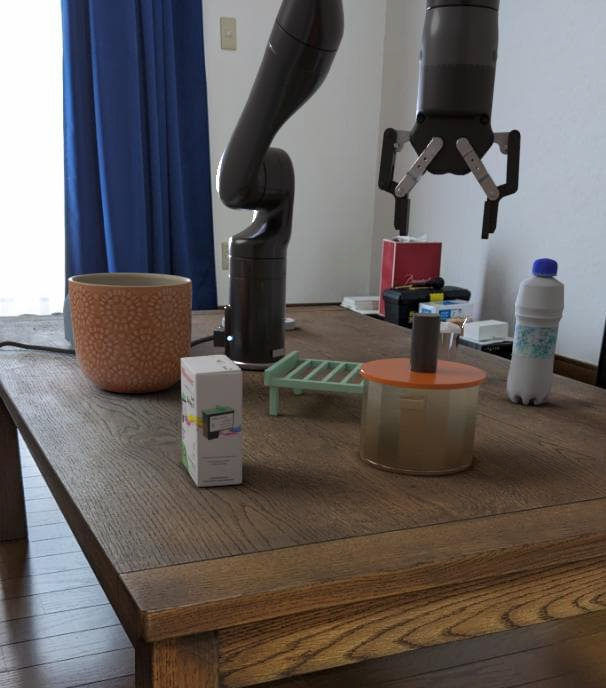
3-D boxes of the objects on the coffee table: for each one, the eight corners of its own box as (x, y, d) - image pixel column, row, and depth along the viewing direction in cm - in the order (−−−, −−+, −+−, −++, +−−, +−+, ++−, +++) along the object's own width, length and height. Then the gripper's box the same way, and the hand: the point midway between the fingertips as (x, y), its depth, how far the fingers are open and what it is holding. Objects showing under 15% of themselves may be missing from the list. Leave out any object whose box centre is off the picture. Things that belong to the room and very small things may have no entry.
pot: (345, 476, 95) (350, 387, 92) (374, 433, 112) (379, 356, 108) (465, 488, 93) (474, 398, 89) (476, 443, 109) (484, 365, 105)
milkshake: (460, 384, 140) (467, 319, 136) (426, 382, 141) (431, 317, 137) (461, 378, 144) (468, 315, 140) (428, 376, 145) (433, 313, 141)
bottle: (552, 399, 132) (572, 257, 125) (548, 409, 126) (569, 261, 119) (506, 394, 134) (523, 254, 127) (500, 404, 128) (518, 258, 121)
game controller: (294, 325, 188) (294, 316, 188) (296, 336, 177) (296, 326, 176) (223, 323, 188) (223, 314, 187) (219, 334, 176) (219, 324, 175)
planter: (158, 405, 121) (154, 289, 115) (51, 391, 126) (42, 280, 121) (212, 381, 136) (212, 277, 130) (115, 370, 141) (110, 270, 136)
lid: (348, 388, 94) (352, 318, 91) (370, 364, 107) (374, 302, 104) (481, 400, 91) (489, 328, 88) (488, 374, 104) (495, 310, 101)
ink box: (180, 463, 98) (178, 354, 93) (225, 460, 99) (225, 353, 95) (196, 488, 90) (194, 371, 86) (243, 485, 92) (244, 370, 87)
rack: (263, 415, 118) (264, 370, 116) (292, 391, 132) (293, 350, 129) (377, 426, 115) (380, 380, 112) (395, 400, 128) (398, 358, 126)
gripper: (531, 69, 91) (513, 238, 97) (391, 69, 94) (382, 233, 100) (531, 60, 84) (511, 242, 90) (380, 59, 87) (371, 236, 93)
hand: (443, 237), depth 95 cm, fingers open, 8 cm apart
